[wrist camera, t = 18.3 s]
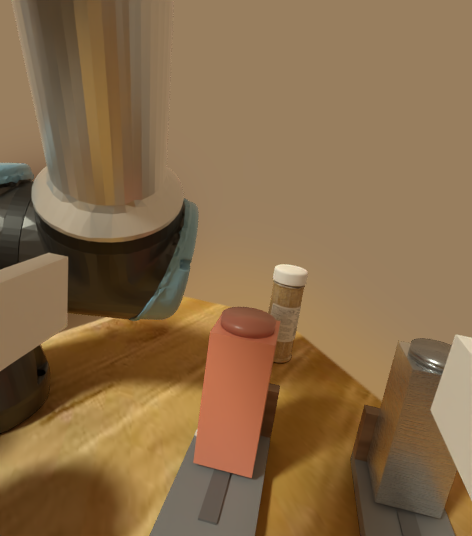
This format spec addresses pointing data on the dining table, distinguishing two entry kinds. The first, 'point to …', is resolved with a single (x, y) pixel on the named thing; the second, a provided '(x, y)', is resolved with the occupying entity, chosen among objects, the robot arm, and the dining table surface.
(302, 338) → the dining table surface
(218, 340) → the orange tall prism
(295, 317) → the sprinkles bottle
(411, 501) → the grey metal prism
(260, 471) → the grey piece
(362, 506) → the steel rail
